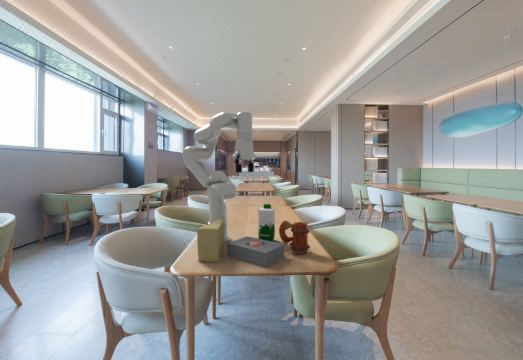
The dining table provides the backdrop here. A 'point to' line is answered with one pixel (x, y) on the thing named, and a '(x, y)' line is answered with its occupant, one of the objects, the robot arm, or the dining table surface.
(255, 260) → the box
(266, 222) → the milk carton
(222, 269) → the dining table surface
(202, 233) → the cheese
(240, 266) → the dining table surface
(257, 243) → the call button
